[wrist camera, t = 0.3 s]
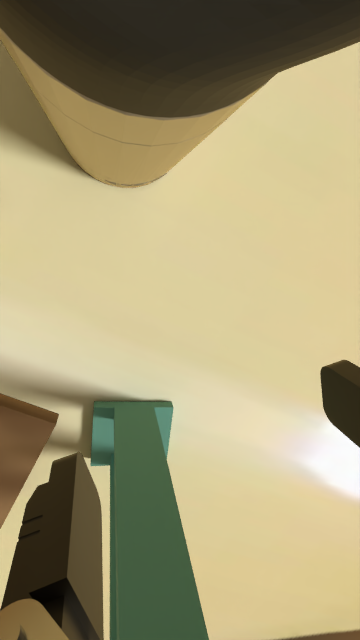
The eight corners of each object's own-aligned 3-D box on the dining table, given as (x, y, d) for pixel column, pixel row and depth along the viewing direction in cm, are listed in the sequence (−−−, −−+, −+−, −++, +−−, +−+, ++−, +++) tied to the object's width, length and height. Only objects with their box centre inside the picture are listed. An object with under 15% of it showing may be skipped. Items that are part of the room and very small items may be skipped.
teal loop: (94, 401, 29) (65, 713, 10) (171, 401, 30) (263, 673, 12) (91, 458, 30) (61, 816, 12) (164, 455, 32) (236, 769, 14)
